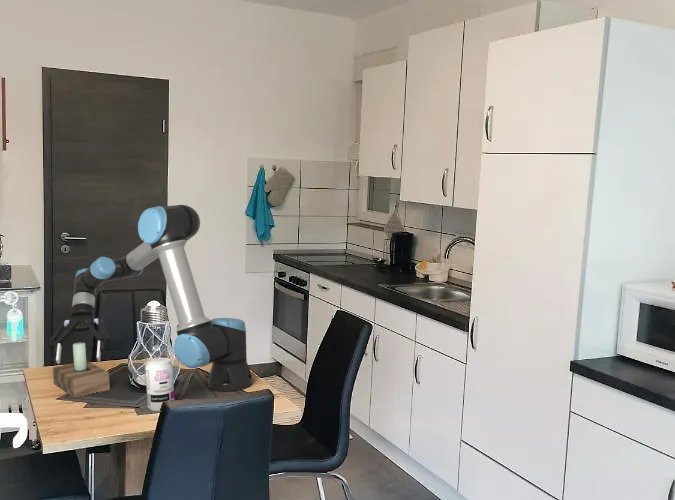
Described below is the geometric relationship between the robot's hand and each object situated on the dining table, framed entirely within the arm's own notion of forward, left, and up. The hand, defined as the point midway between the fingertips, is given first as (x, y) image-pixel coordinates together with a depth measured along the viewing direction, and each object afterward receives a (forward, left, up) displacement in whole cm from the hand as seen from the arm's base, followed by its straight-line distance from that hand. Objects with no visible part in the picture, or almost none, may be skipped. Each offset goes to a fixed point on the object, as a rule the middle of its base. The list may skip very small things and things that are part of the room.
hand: (78, 360), depth 231 cm
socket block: (+2, -1, -10) cm, 10 cm away
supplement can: (-36, -12, -10) cm, 39 cm away
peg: (+2, -1, -10) cm, 10 cm away
